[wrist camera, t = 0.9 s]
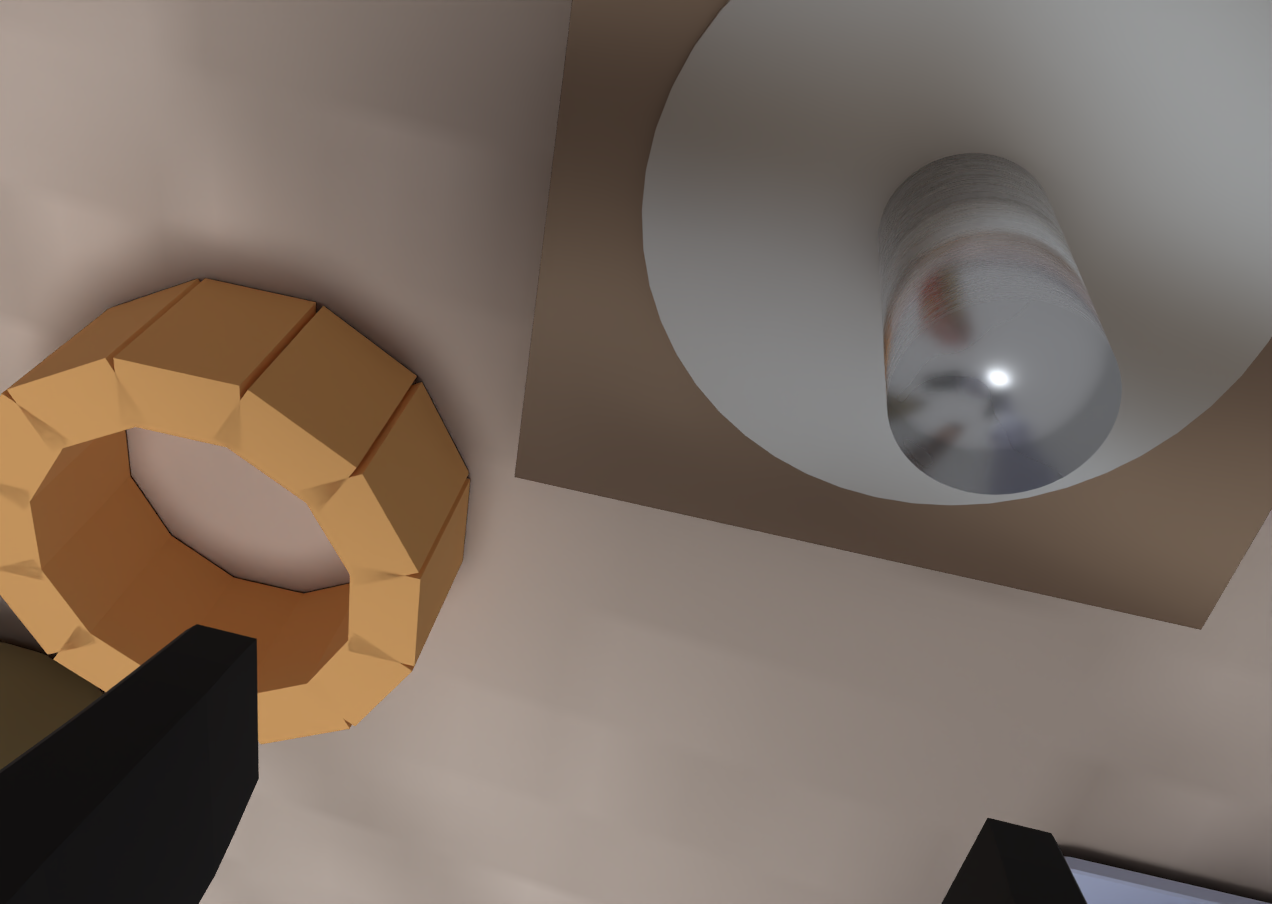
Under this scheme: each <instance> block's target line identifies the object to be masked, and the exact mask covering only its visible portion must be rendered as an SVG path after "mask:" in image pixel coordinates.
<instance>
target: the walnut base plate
mask: <svg viewBox="0 0 1272 904" xmlns="http://www.w3.org/2000/svg"><path fill="white" fill-rule="evenodd" d="M965 153H983V154H990V155H995V156H998V157H1002V158H1005V159H1007V160H1010V161H1012V162H1014V163H1016V164H1018V165H1019V166H1021V167H1022V168H1024V169H1025V170H1026V171H1028V172H1029V173H1030V174H1031V175H1032V176H1033V177H1034V178H1035V179H1036V180H1037V181H1038V182H1039V183H1040V185H1041V186H1042V188H1043V189H1044V191H1045V192H1046V195H1047V197H1048V199H1049V201H1050V204H1051V206H1052V208H1053V211H1054V213H1055V215H1056V218H1057V220H1058V223H1059V225H1060V227H1061V230H1062V232H1063V234H1064V237H1065V239H1066V242H1067V244H1068V246H1069V249H1070V251H1071V253H1072V256H1073V258H1074V261H1075V263H1076V265H1077V268H1078V270H1079V272H1080V275H1081V277H1082V280H1083V282H1084V284H1085V287H1086V289H1087V291H1088V294H1089V296H1090V299H1091V301H1092V303H1093V306H1094V308H1095V310H1096V313H1097V315H1098V317H1099V320H1100V322H1101V325H1102V327H1103V329H1104V332H1105V334H1106V336H1107V339H1108V341H1109V344H1110V346H1111V348H1112V351H1113V353H1114V355H1115V358H1116V360H1117V363H1118V367H1119V370H1120V374H1121V383H1122V394H1121V403H1120V408H1119V412H1118V415H1117V418H1116V421H1115V423H1114V426H1113V428H1112V430H1111V431H1110V433H1109V435H1108V437H1107V438H1106V440H1105V441H1104V442H1103V444H1102V445H1101V446H1100V448H1099V449H1098V450H1097V451H1096V452H1095V453H1094V454H1093V455H1092V456H1091V457H1090V459H1089V460H1087V461H1086V462H1085V463H1084V464H1082V465H1081V466H1080V467H1079V468H1078V469H1076V470H1074V471H1073V472H1071V473H1070V474H1068V475H1067V476H1065V477H1063V478H1061V479H1059V480H1057V481H1055V482H1053V483H1051V484H1048V485H1045V486H1043V487H1040V488H1037V489H1033V490H1029V491H1025V492H1020V493H1013V494H1001V495H990V494H977V493H971V492H966V491H962V490H958V489H955V488H952V487H949V486H947V485H944V484H942V483H940V482H938V481H936V480H934V479H932V478H931V477H929V476H927V475H926V474H925V473H923V472H922V471H921V470H919V469H918V468H917V467H916V466H915V465H914V464H913V463H912V462H911V461H910V460H909V459H908V458H907V457H906V456H905V454H904V453H903V452H902V451H901V449H900V447H899V446H898V444H897V442H896V440H895V439H894V436H893V433H892V431H891V428H890V424H889V420H888V414H887V398H886V380H885V363H884V346H883V328H882V311H881V293H880V276H879V258H878V241H877V240H878V229H879V224H880V220H881V217H882V214H883V211H884V209H885V207H886V205H887V203H888V201H889V199H890V198H891V196H892V195H893V194H894V192H895V191H896V189H897V188H898V187H899V186H900V185H901V184H902V183H903V182H904V181H905V180H906V179H907V178H908V177H909V176H911V175H912V174H913V173H914V172H916V171H917V170H919V169H920V168H922V167H924V166H925V165H927V164H929V163H931V162H933V161H936V160H939V159H941V158H944V157H948V156H952V155H956V154H965ZM515 477H517V478H522V479H526V480H531V481H535V482H540V483H544V484H549V485H553V486H558V487H562V488H567V489H571V490H576V491H580V492H585V493H589V494H594V495H598V496H603V497H607V498H612V499H616V500H621V501H625V502H630V503H634V504H639V505H643V506H648V507H652V508H657V509H661V510H666V511H670V512H675V513H679V514H684V515H688V516H693V517H697V518H702V519H706V520H711V521H715V522H720V523H724V524H728V525H733V526H737V527H742V528H746V529H751V530H755V531H760V532H764V533H769V534H773V535H778V536H782V537H787V538H791V539H796V540H800V541H805V542H809V543H814V544H818V545H823V546H827V547H832V548H836V549H841V550H845V551H850V552H854V553H859V554H863V555H868V556H872V557H877V558H881V559H886V560H890V561H895V562H899V563H904V564H908V565H913V566H917V567H922V568H926V569H931V570H935V571H940V572H944V573H949V574H953V575H958V576H962V577H967V578H971V579H976V580H980V581H985V582H989V583H994V584H998V585H1003V586H1007V587H1012V588H1016V589H1021V590H1025V591H1030V592H1034V593H1039V594H1043V595H1048V596H1052V597H1057V598H1061V599H1066V600H1070V601H1074V602H1079V603H1083V604H1088V605H1092V606H1097V607H1101V608H1106V609H1110V610H1115V611H1119V612H1124V613H1128V614H1133V615H1137V616H1142V617H1146V618H1151V619H1155V620H1160V621H1164V622H1169V623H1173V624H1178V625H1182V626H1187V627H1191V628H1196V629H1200V630H1201V629H1202V627H1203V625H1204V624H1205V622H1206V620H1207V619H1208V617H1209V615H1210V613H1211V612H1212V610H1213V608H1214V607H1215V605H1216V603H1217V602H1218V600H1219V598H1220V596H1221V595H1222V593H1223V591H1224V590H1225V588H1226V586H1227V584H1228V583H1229V581H1230V579H1231V578H1232V576H1233V574H1234V572H1235V571H1236V569H1237V567H1238V566H1239V564H1240V562H1241V560H1242V559H1243V557H1244V555H1245V554H1246V552H1247V550H1248V548H1249V547H1250V545H1251V543H1252V542H1253V540H1254V538H1255V536H1256V535H1257V533H1258V531H1259V530H1260V528H1261V526H1262V524H1263V523H1264V521H1265V519H1266V518H1267V516H1268V514H1269V512H1270V511H1271V509H1272V0H572V7H571V15H570V23H569V32H568V40H567V48H566V56H565V65H564V73H563V81H562V89H561V98H560V106H559V114H558V123H557V131H556V139H555V147H554V156H553V164H552V172H551V180H550V189H549V197H548V205H547V213H546V222H545V230H544V238H543V246H542V255H541V263H540V271H539V279H538V288H537V296H536V304H535V313H534V321H533V329H532V337H531V346H530V354H529V362H528V370H527V379H526V387H525V395H524V403H523V412H522V420H521V428H520V436H519V445H518V453H517V461H516V469H515Z"/></svg>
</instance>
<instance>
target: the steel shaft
mask: <svg viewBox="0 0 1272 904" xmlns="http://www.w3.org/2000/svg"><path fill="white" fill-rule="evenodd" d="M877 241H878V258H879V276H880V293H881V311H882V328H883V346H884V363H885V380H886V398H887V414H888V420H889V424H890V428H891V431H892V433H893V436H894V439H895V440H896V442H897V444H898V446H899V447H900V449H901V451H902V452H903V453H904V454H905V456H906V457H907V458H908V459H909V460H910V461H911V462H912V463H913V464H914V465H915V466H916V467H917V468H918V469H919V470H921V471H922V472H923V473H925V474H926V475H927V476H929V477H931V478H932V479H934V480H936V481H938V482H940V483H942V484H944V485H947V486H949V487H952V488H955V489H958V490H962V491H966V492H971V493H977V494H990V495H1001V494H1013V493H1020V492H1025V491H1029V490H1033V489H1037V488H1040V487H1043V486H1045V485H1048V484H1051V483H1053V482H1055V481H1057V480H1059V479H1061V478H1063V477H1065V476H1067V475H1068V474H1070V473H1071V472H1073V471H1074V470H1076V469H1078V468H1079V467H1080V466H1081V465H1082V464H1084V463H1085V462H1086V461H1087V460H1089V459H1090V457H1091V456H1092V455H1093V454H1094V453H1095V452H1096V451H1097V450H1098V449H1099V448H1100V446H1101V445H1102V444H1103V442H1104V441H1105V440H1106V438H1107V437H1108V435H1109V433H1110V431H1111V430H1112V428H1113V426H1114V423H1115V421H1116V418H1117V415H1118V412H1119V408H1120V403H1121V394H1122V383H1121V374H1120V370H1119V367H1118V363H1117V360H1116V358H1115V355H1114V353H1113V351H1112V348H1111V346H1110V344H1109V341H1108V339H1107V336H1106V334H1105V332H1104V329H1103V327H1102V325H1101V322H1100V320H1099V317H1098V315H1097V313H1096V310H1095V308H1094V306H1093V303H1092V301H1091V299H1090V296H1089V294H1088V291H1087V289H1086V287H1085V284H1084V282H1083V280H1082V277H1081V275H1080V272H1079V270H1078V268H1077V265H1076V263H1075V261H1074V258H1073V256H1072V253H1071V251H1070V249H1069V246H1068V244H1067V242H1066V239H1065V237H1064V234H1063V232H1062V230H1061V227H1060V225H1059V223H1058V220H1057V218H1056V215H1055V213H1054V211H1053V208H1052V206H1051V204H1050V201H1049V199H1048V197H1047V195H1046V192H1045V191H1044V189H1043V188H1042V186H1041V185H1040V183H1039V182H1038V181H1037V180H1036V179H1035V178H1034V177H1033V176H1032V175H1031V174H1030V173H1029V172H1028V171H1026V170H1025V169H1024V168H1022V167H1021V166H1019V165H1018V164H1016V163H1014V162H1012V161H1010V160H1007V159H1005V158H1002V157H998V156H995V155H990V154H983V153H965V154H956V155H952V156H948V157H944V158H941V159H939V160H936V161H933V162H931V163H929V164H927V165H925V166H924V167H922V168H920V169H919V170H917V171H916V172H914V173H913V174H912V175H911V176H909V177H908V178H907V179H906V180H905V181H904V182H903V183H902V184H901V185H900V186H899V187H898V188H897V189H896V191H895V192H894V194H893V195H892V196H891V198H890V199H889V201H888V203H887V205H886V207H885V209H884V211H883V214H882V217H881V220H880V224H879V229H878V240H877Z"/></svg>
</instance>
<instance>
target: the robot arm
mask: <svg viewBox="0 0 1272 904" xmlns="http://www.w3.org/2000/svg"><path fill="white" fill-rule="evenodd" d="M258 779H259V774H258V692H257V639H256V638H252V637H248V636H244V635H240V634H236V633H232V632H227V631H223V630H219V629H215V628H211V627H207V626H203V625H199V624H196V625H194V626H192V627H191V628H189V629H187V630H185V631H184V632H183V633H181V634H180V635H179V636H178V637H176V638H175V639H174V640H172V641H171V642H170V643H169V644H167V645H166V646H165V647H163V648H162V649H161V650H160V651H158V652H157V653H156V654H155V655H153V656H152V657H151V658H149V659H148V660H147V661H146V662H144V663H143V664H142V665H140V666H139V667H138V668H137V669H135V670H134V671H133V672H131V673H130V674H129V675H128V676H126V677H125V678H124V679H122V680H121V681H120V682H119V683H117V684H116V685H115V686H113V687H112V688H111V689H109V690H108V691H107V692H105V693H104V694H103V695H102V696H100V697H99V698H98V699H96V700H95V701H94V702H92V703H91V704H90V705H88V706H87V707H86V708H84V709H83V710H82V711H80V712H79V713H78V714H76V715H75V716H74V717H72V718H71V719H70V720H68V721H67V722H66V723H64V724H63V725H62V726H60V727H59V728H57V729H56V730H55V731H53V732H52V733H51V734H49V735H48V736H46V737H45V738H44V739H42V740H41V741H39V742H38V743H37V744H35V745H34V746H33V747H31V748H30V749H28V750H27V751H26V752H24V753H23V754H21V755H20V756H19V757H17V758H16V759H15V760H13V761H12V762H10V763H9V764H8V765H6V766H5V767H4V768H2V769H1V770H0V904H199V902H200V900H201V899H202V897H203V895H204V893H205V892H206V890H207V888H208V886H209V885H210V883H211V881H212V880H213V878H214V876H215V874H216V872H217V870H218V868H219V865H220V863H221V861H222V859H223V857H224V855H225V853H226V850H227V848H228V846H229V844H230V842H231V840H232V837H233V835H234V833H235V831H236V829H237V826H238V824H239V822H240V820H241V817H242V815H243V813H244V811H245V808H246V806H247V804H248V801H249V799H250V797H251V795H252V792H253V790H254V788H255V786H256V783H257V781H258ZM942 904H1271V903H1267V902H1263V901H1258V900H1254V899H1250V898H1245V897H1241V896H1237V895H1233V894H1228V893H1224V892H1220V891H1215V890H1211V889H1207V888H1202V887H1198V886H1194V885H1190V884H1185V883H1181V882H1177V881H1172V880H1168V879H1164V878H1159V877H1155V876H1151V875H1146V874H1142V873H1138V872H1134V871H1129V870H1125V869H1121V868H1116V867H1112V866H1108V865H1103V864H1099V863H1095V862H1091V861H1086V860H1082V859H1078V858H1073V857H1067V856H1063V854H1062V852H1061V850H1060V848H1059V846H1058V844H1057V842H1056V841H1055V839H1054V837H1053V835H1052V834H1051V833H1048V832H1044V831H1040V830H1036V829H1032V828H1027V827H1023V826H1019V825H1015V824H1011V823H1007V822H1003V821H999V820H995V819H991V818H987V820H986V822H985V824H984V826H983V827H982V829H981V831H980V833H979V835H978V837H977V839H976V840H975V842H974V844H973V846H972V848H971V850H970V852H969V854H968V855H967V857H966V859H965V861H964V863H963V865H962V867H961V868H960V870H959V872H958V874H957V876H956V878H955V880H954V881H953V883H952V885H951V887H950V889H949V891H948V893H947V894H946V896H945V898H944V900H943V902H942Z"/></svg>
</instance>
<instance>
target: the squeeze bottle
mask: <svg viewBox="0 0 1272 904" xmlns="http://www.w3.org/2000/svg"><path fill="white" fill-rule="evenodd" d="M102 695H103V693H102V692H101V691H100V690H99V689H98V688H97V687H96V686H95V685H94V684H92V683H90V682H89V681H87V680H86V679H84V678H82V677H81V676H79V675H78V674H76V673H74V672H73V671H71V670H70V669H68V668H66V667H65V666H63V665H61V664H60V663H58V662H57V661H55V660H53V659H51V658H50V657H48V656H46V655H44V654H43V653H39V652H36V651H32V650H29V649H25V648H21V647H18V646H14V645H11V644H7V643H4V642H0V770H1V769H2V768H4V767H5V766H6V765H8V764H9V763H10V762H12V761H13V760H15V759H16V758H17V757H19V756H20V755H21V754H23V753H24V752H26V751H27V750H28V749H30V748H31V747H33V746H34V745H35V744H37V743H38V742H39V741H41V740H42V739H44V738H45V737H46V736H48V735H49V734H51V733H52V732H53V731H55V730H56V729H57V728H59V727H60V726H62V725H63V724H64V723H66V722H67V721H68V720H70V719H71V718H72V717H74V716H75V715H76V714H78V713H79V712H80V711H82V710H83V709H84V708H86V707H87V706H88V705H90V704H91V703H92V702H94V701H95V700H96V699H98V698H99V697H100V696H102Z"/></svg>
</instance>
